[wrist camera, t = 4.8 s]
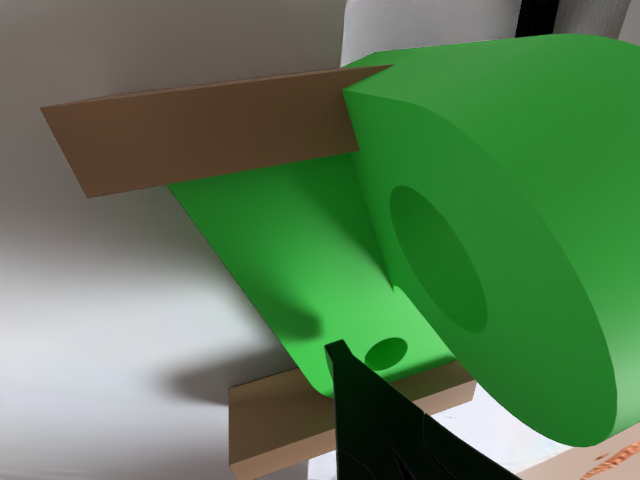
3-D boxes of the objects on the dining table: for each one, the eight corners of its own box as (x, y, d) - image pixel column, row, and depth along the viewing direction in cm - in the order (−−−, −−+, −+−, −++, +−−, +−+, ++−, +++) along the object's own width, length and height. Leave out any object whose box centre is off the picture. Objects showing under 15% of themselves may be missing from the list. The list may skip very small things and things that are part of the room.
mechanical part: (169, 146, 8) (-155, 609, 1) (374, 52, 8) (1109, -22, 1) (323, 378, 14) (409, 648, 8) (434, 323, 15) (610, 539, 8)
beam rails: (431, 347, 15) (471, 400, 13) (236, 408, 14) (239, 484, 11) (470, 52, 9) (567, 43, 6) (106, 96, 7) (39, 108, 5)
